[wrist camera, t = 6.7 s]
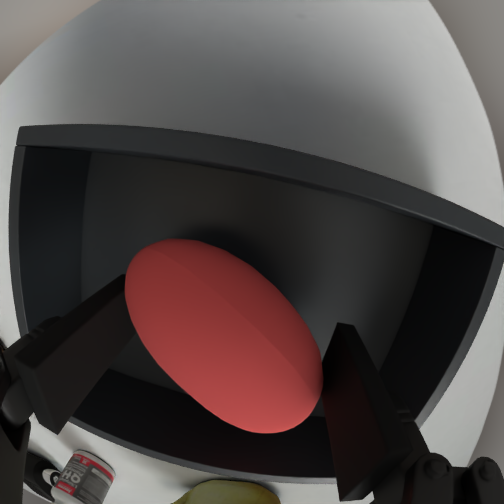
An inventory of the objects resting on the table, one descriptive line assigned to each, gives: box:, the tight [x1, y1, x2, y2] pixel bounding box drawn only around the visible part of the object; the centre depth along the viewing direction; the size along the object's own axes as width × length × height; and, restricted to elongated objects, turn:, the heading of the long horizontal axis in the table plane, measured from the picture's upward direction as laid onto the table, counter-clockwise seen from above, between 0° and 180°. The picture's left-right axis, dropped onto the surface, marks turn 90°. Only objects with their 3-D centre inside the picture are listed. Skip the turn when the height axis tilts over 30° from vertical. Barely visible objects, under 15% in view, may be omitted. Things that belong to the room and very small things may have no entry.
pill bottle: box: [50, 451, 115, 504], centre depth 16 cm, size 5×5×10 cm
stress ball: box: [125, 239, 324, 433], centre depth 10 cm, size 5×9×6 cm
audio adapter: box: [23, 453, 61, 502], centre depth 22 cm, size 11×5×25 cm
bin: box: [9, 124, 504, 484], centre depth 12 cm, size 15×20×6 cm
